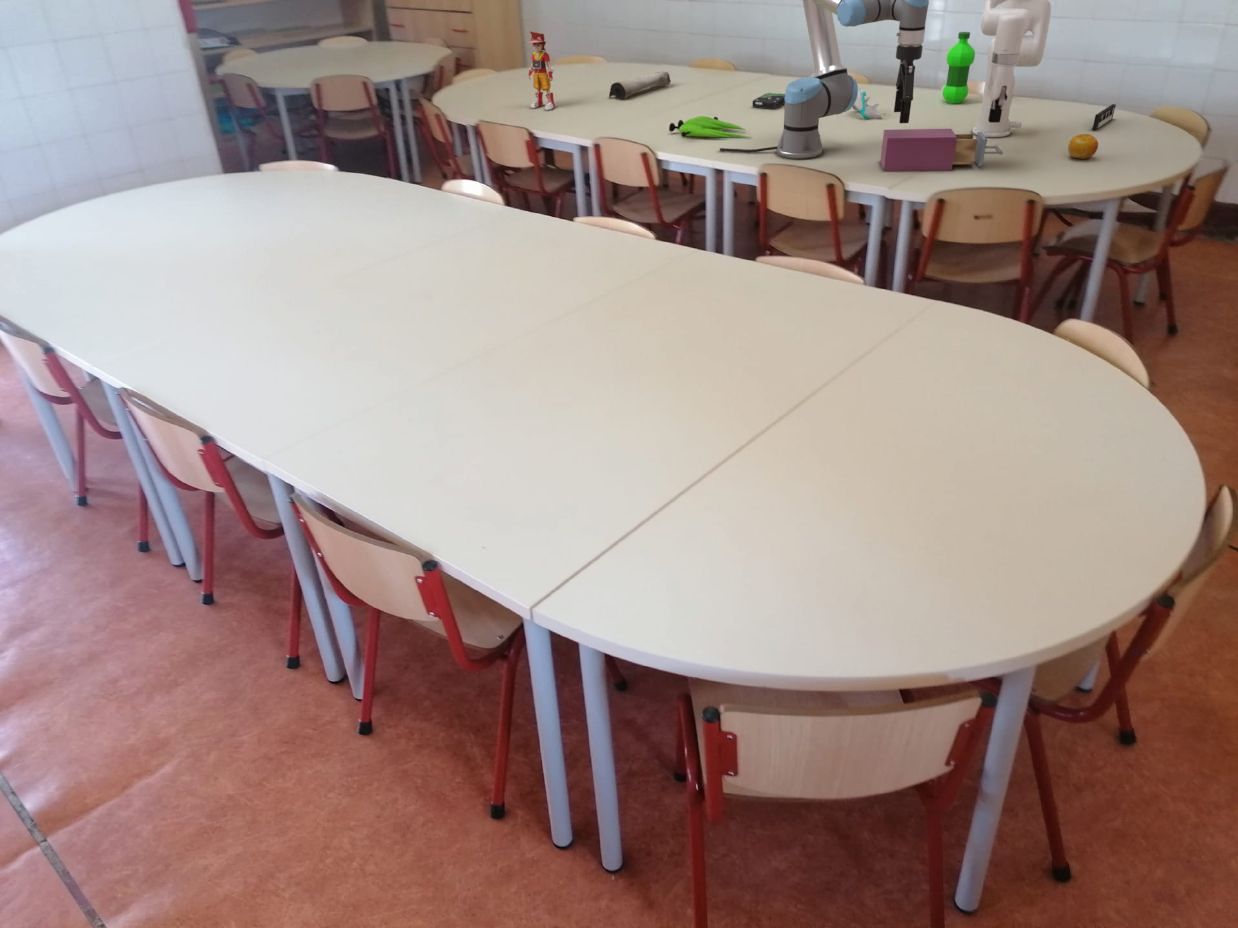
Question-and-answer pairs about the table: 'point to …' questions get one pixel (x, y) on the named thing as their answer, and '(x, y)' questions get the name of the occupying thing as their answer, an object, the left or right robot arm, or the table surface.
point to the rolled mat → (638, 84)
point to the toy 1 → (541, 71)
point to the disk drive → (769, 100)
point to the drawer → (972, 149)
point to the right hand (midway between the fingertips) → (993, 121)
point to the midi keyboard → (1103, 116)
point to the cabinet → (918, 149)
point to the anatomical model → (865, 106)
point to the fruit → (1082, 146)
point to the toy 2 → (705, 127)
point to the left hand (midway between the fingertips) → (901, 117)
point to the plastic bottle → (958, 69)
